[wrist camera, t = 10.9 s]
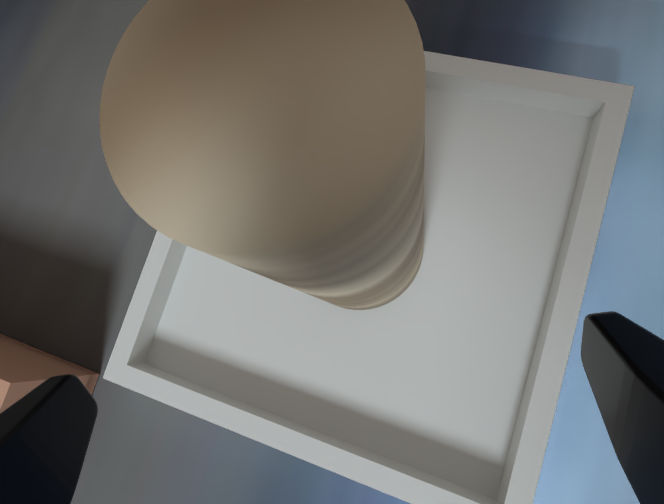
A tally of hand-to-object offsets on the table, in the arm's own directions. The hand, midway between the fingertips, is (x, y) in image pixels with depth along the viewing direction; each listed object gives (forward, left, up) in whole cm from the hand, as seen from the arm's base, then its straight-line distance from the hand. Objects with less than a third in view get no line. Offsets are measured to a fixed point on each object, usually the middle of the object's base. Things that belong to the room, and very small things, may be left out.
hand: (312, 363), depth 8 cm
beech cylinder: (+2, -4, -10) cm, 11 cm away
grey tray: (+2, -4, -10) cm, 11 cm away
